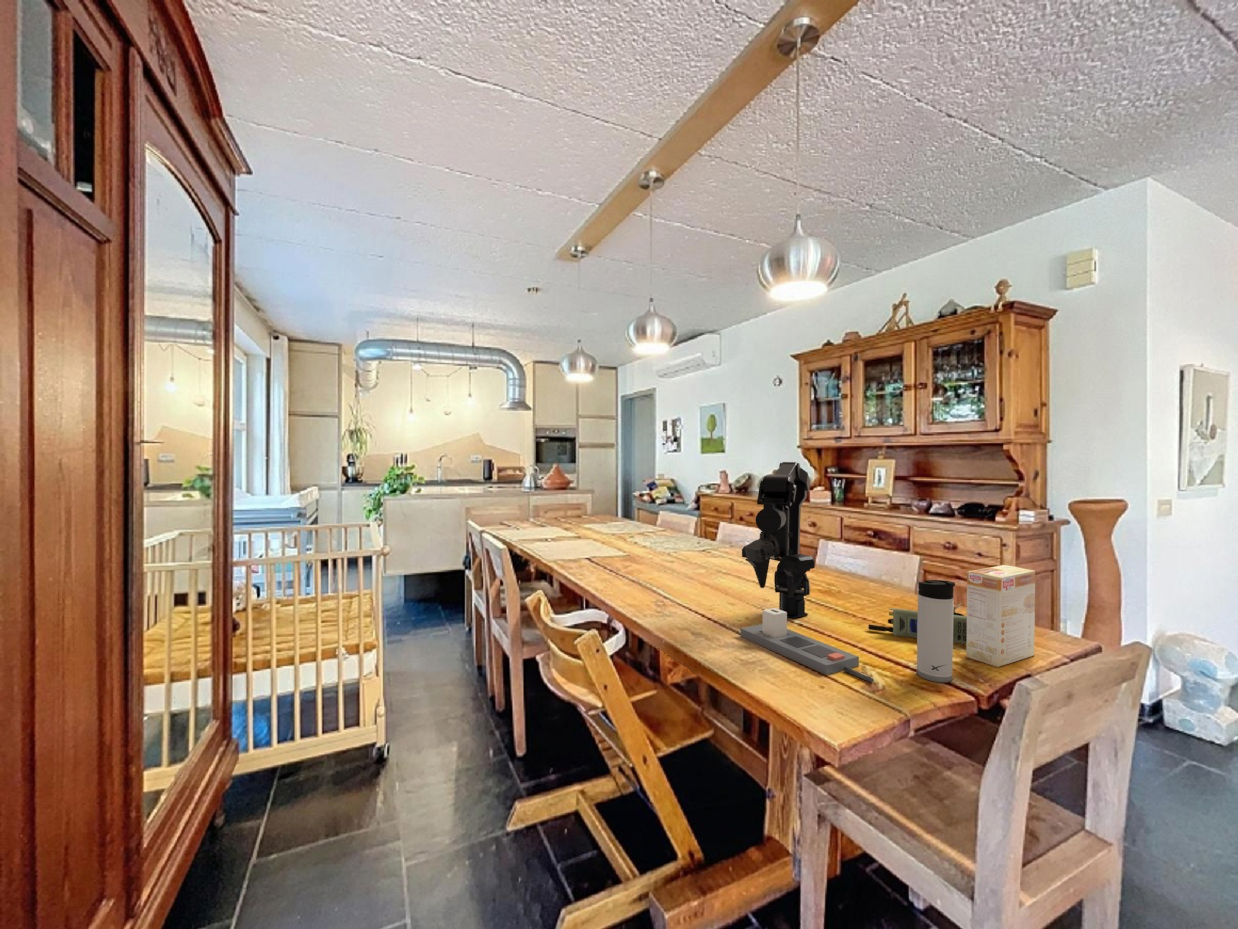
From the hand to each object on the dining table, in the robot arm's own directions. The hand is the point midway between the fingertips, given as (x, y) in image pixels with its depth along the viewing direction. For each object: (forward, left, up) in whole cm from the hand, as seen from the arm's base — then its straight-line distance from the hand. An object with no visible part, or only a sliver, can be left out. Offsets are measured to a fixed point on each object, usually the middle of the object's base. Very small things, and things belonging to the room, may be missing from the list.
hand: (775, 592), depth 127 cm
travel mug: (+31, +14, -12) cm, 36 cm away
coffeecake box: (+31, +38, -12) cm, 50 cm away
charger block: (0, 0, -12) cm, 12 cm away
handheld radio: (+16, +34, -12) cm, 40 cm away
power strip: (+10, 0, -12) cm, 16 cm away
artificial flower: (+13, +49, -12) cm, 52 cm away
